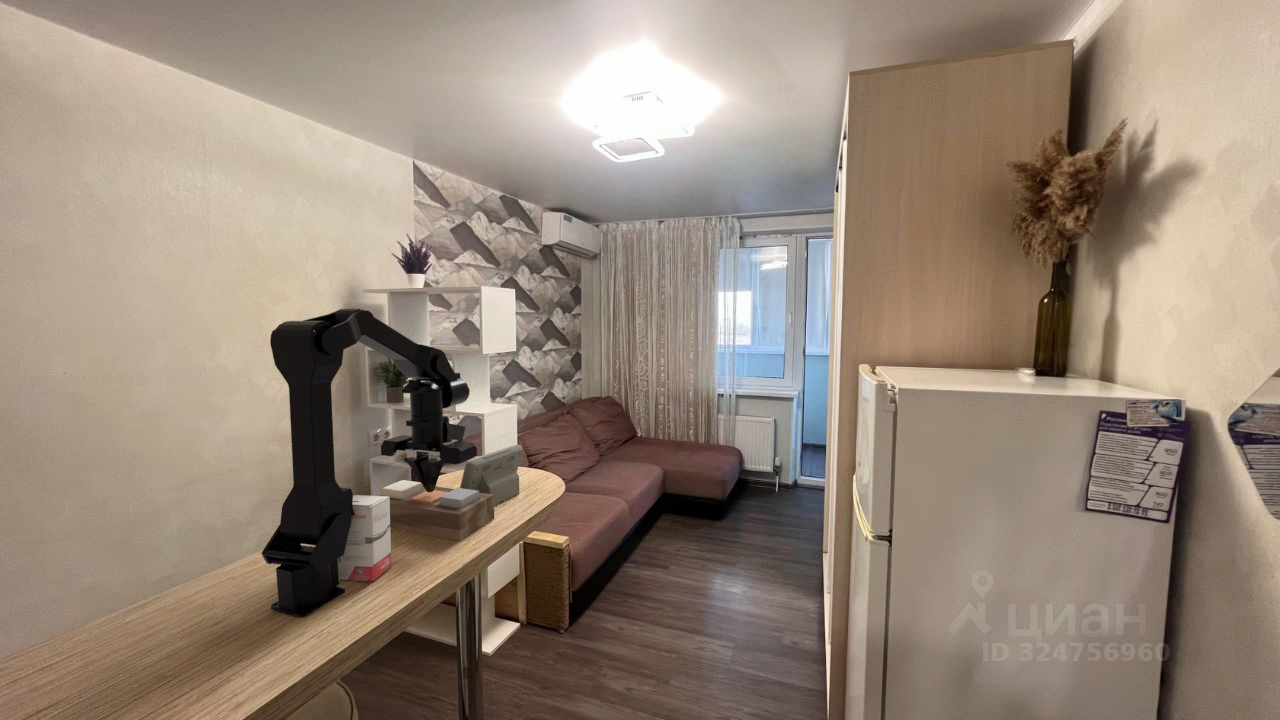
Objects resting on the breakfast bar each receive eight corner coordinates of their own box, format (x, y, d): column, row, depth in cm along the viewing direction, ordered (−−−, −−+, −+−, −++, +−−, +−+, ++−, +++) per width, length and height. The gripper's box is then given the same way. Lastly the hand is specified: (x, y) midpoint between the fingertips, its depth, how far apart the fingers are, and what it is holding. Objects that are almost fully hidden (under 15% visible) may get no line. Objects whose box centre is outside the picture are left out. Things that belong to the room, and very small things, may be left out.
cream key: (403, 506, 94) (402, 491, 93) (383, 502, 95) (382, 488, 95) (422, 496, 98) (421, 482, 98) (403, 493, 100) (402, 479, 100)
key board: (460, 541, 87) (459, 514, 86) (367, 523, 94) (366, 499, 93) (494, 518, 96) (493, 494, 96) (407, 504, 103) (406, 482, 103)
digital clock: (511, 483, 116) (510, 440, 115) (534, 492, 111) (533, 447, 110) (448, 503, 104) (446, 455, 103) (470, 514, 98) (468, 464, 97)
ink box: (394, 565, 78) (391, 494, 77) (373, 582, 73) (370, 506, 72) (344, 563, 79) (340, 492, 78) (320, 579, 74) (317, 504, 73)
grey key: (462, 515, 89) (461, 500, 89) (440, 512, 91) (439, 496, 90) (479, 505, 94) (478, 490, 94) (458, 502, 95) (457, 487, 95)
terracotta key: (432, 516, 91) (431, 501, 91) (411, 513, 93) (410, 498, 93) (450, 506, 96) (449, 492, 96) (430, 503, 98) (429, 489, 98)
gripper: (493, 408, 97) (495, 483, 99) (420, 403, 104) (423, 473, 105) (455, 420, 87) (458, 503, 88) (376, 413, 93) (381, 491, 95)
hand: (430, 491), depth 94 cm, fingers closed
